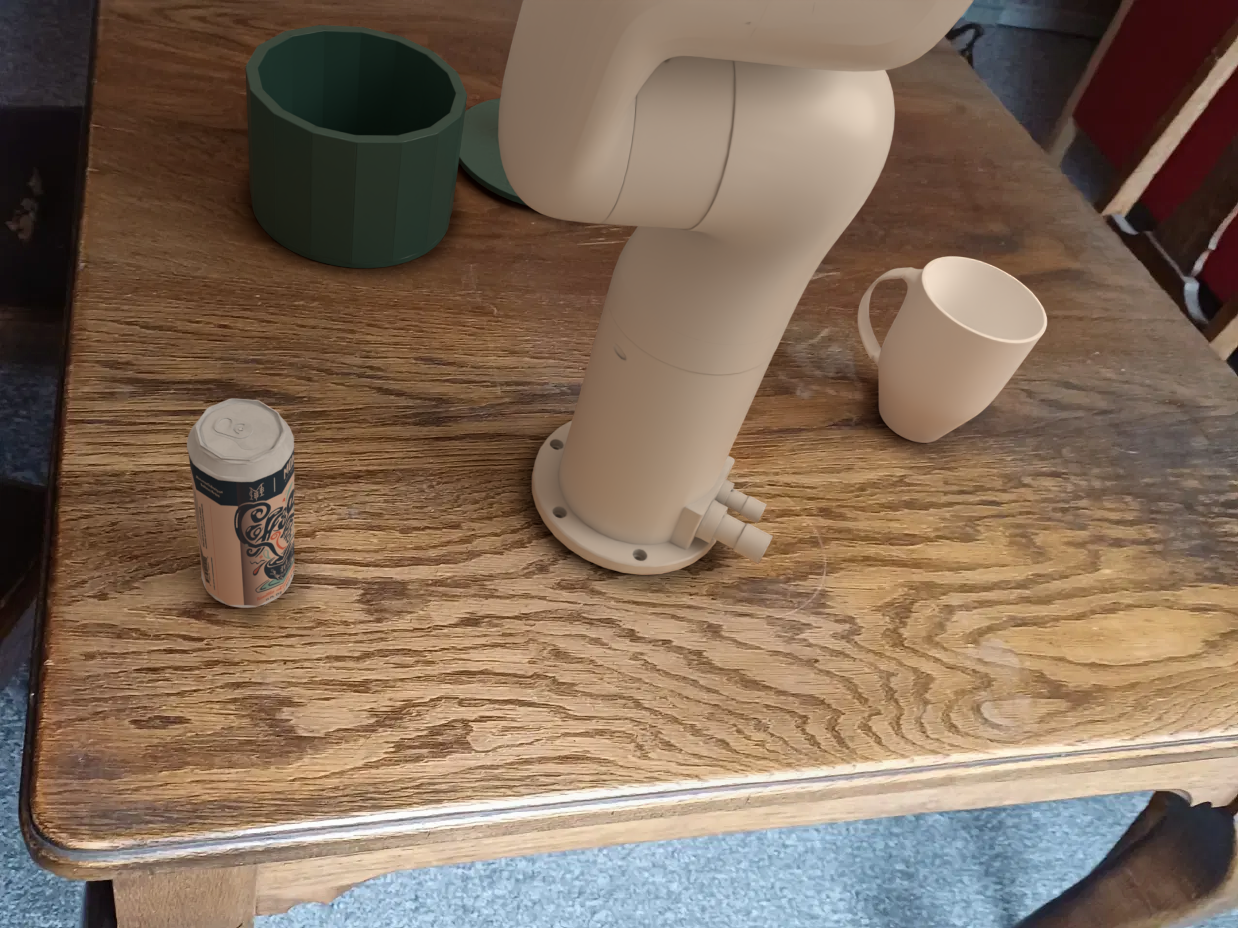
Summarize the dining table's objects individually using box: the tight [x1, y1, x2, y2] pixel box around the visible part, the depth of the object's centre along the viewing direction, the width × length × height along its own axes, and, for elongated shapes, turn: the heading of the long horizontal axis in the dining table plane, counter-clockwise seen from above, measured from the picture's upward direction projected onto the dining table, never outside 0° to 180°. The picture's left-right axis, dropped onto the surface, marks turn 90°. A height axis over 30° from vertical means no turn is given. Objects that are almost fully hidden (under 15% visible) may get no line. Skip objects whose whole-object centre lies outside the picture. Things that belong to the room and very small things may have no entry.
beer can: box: [186, 398, 295, 609], centre depth 54 cm, size 5×5×12 cm
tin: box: [244, 24, 468, 269], centre depth 78 cm, size 15×15×10 cm
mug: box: [857, 255, 1048, 444], centre depth 76 cm, size 12×9×12 cm
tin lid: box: [458, 97, 529, 207], centre depth 89 cm, size 16×16×7 cm
